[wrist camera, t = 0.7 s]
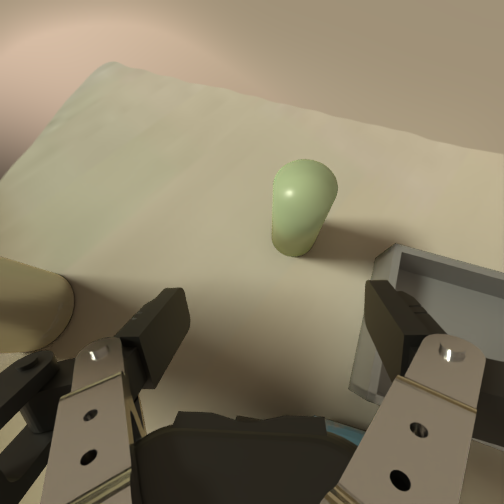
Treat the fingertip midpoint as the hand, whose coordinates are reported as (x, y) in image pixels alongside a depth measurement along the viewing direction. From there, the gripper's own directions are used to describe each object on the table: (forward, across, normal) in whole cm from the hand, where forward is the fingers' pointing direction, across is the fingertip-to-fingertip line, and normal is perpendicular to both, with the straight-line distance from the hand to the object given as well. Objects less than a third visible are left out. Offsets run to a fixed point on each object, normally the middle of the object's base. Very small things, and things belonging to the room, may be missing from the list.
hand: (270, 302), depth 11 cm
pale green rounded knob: (+21, -1, +3) cm, 21 cm away
